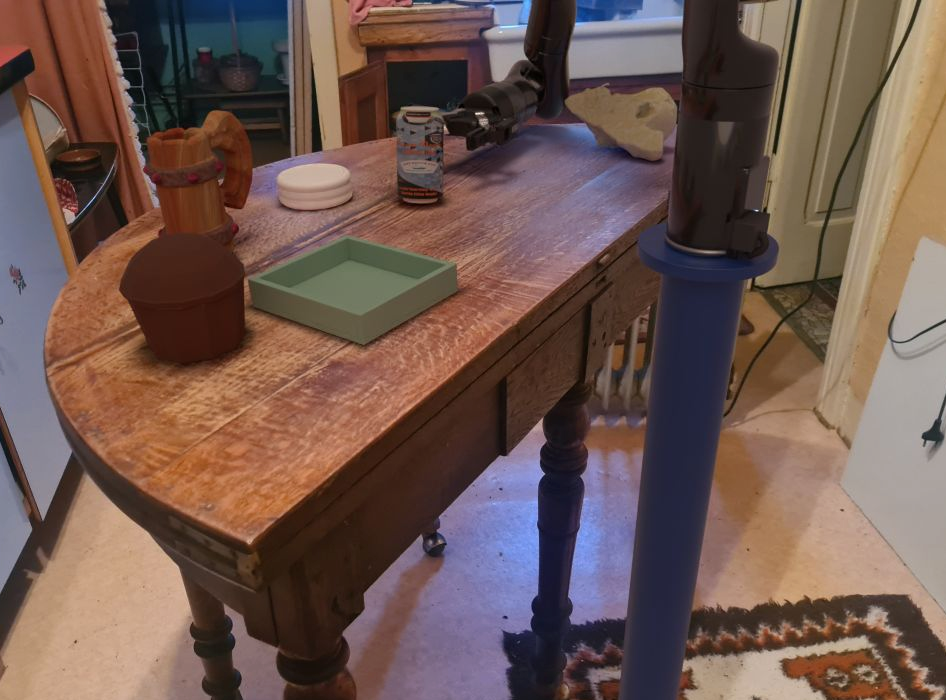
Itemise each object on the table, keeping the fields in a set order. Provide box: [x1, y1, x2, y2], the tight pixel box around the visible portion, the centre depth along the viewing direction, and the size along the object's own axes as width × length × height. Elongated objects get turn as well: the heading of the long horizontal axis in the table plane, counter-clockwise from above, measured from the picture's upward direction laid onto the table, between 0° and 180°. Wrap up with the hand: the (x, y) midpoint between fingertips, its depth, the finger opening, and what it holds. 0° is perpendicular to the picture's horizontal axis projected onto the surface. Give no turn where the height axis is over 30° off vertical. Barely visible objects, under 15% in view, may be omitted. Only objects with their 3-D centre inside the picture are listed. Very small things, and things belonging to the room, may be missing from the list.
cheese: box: [565, 82, 678, 162], centre depth 129 cm, size 15×7×15 cm
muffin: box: [118, 233, 246, 364], centre depth 79 cm, size 12×11×10 cm
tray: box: [247, 234, 459, 346], centre depth 88 cm, size 16×15×3 cm
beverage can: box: [395, 105, 445, 204], centre depth 111 cm, size 6×7×12 cm
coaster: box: [275, 163, 354, 211], centre depth 115 cm, size 10×10×4 cm
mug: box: [142, 109, 254, 254], centre depth 97 cm, size 15×8×15 cm, turn 151°
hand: (440, 140), depth 115 cm, fingers open, 8 cm apart
